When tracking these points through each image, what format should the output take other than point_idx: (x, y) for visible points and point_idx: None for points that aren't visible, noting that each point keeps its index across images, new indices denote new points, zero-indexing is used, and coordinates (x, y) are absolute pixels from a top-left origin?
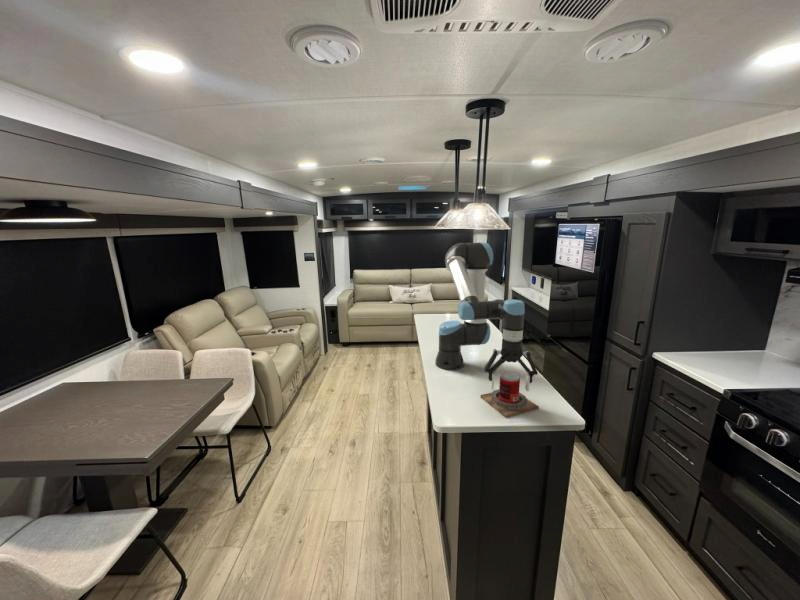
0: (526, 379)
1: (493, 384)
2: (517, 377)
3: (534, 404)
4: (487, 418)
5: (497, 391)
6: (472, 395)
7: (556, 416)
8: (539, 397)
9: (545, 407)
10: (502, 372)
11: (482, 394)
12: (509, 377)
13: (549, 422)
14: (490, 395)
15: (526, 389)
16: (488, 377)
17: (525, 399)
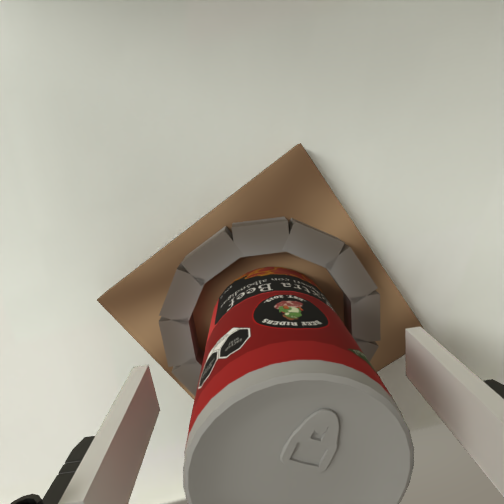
0: (466, 414)
1: (145, 446)
2: (379, 482)
3: (411, 326)
4: (166, 464)
5: (198, 278)
6: (51, 280)
7: (487, 370)
8: (466, 193)
9: (462, 302)
10: (209, 428)
11: (107, 292)
12: (289, 493)
13: (436, 423)
14: (159, 291)
15: (410, 370)
16: (68, 457)
17: (372, 334)
